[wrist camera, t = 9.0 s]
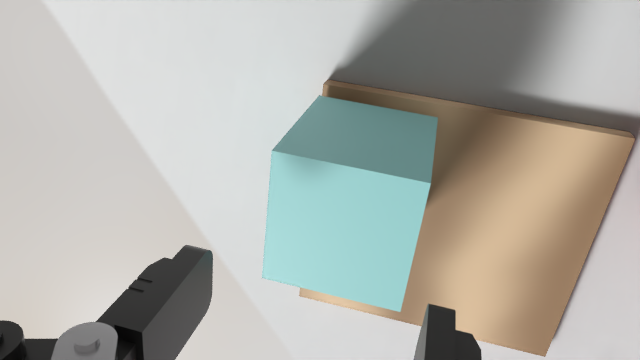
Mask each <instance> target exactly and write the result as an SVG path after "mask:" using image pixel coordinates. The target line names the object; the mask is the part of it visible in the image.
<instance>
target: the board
mask: <svg viewBox="0 0 640 360" xmlns="http://www.w3.org/2000/svg"><path fill="white" fill-rule="evenodd" d="M322 96H325V97H330V98H336V99H341V100H346V101H352V102H357V103H363V104H368V105H374V106H379V107H384V108H390V109H395V110H401V111H406V112H412V113H417V114H422V115H428V116H433V117H438V123H437V132H436V141H435V150H434V159H433V168H432V177H431V185H430V189H429V193H428V198H427V202H426V206H425V210H424V214H423V219H422V223H421V227H420V231H419V236H418V240H417V244H416V248H415V252H414V257H413V261H412V265H411V269H410V274H409V278H408V282H407V286H406V291H405V295H404V299H403V303H402V307H401V312H398V311H394V310H389V309H385V308H381V307H377V306H373V305H369V304H365V303H361V302H357V301H353V300H349V299H345V298H341V297H337V296H333V295H329V294H325V293H321V292H317V291H313V290H309V289H305V288H301V287H300V295H299V296H301V297H305V298H309V299H313V300H317V301H321V302H325V303H329V304H333V305H337V306H341V307H345V308H350V309H354V310H358V311H362V312H366V313H370V314H374V315H378V316H382V317H386V318H390V319H394V320H398V321H402V322H406V323H410V324H414V325H418V326H422V323H423V319H424V315H425V312H426V308H427V305H428V303H429V304H433V305H437V306H441V307H446V308H450V309H454V310H455V311H456V330H458V331H462V332H467V333H471V334H472V335H473V336H474V338H475V340H479V341H483V342H487V343H491V344H495V345H500V346H504V347H508V348H512V349H516V350H520V351H524V352H528V353H532V354H536V355H540V356H544V357H545V356H546V353H547V351H548V348H549V346H550V344H551V341H552V339H553V336H554V334H555V332H556V329H557V327H558V324H559V322H560V320H561V317H562V315H563V312H564V310H565V307H566V305H567V303H568V300H569V298H570V295H571V293H572V291H573V288H574V286H575V283H576V281H577V279H578V276H579V274H580V271H581V269H582V266H583V264H584V262H585V259H586V257H587V254H588V252H589V250H590V247H591V245H592V242H593V240H594V237H595V235H596V233H597V230H598V228H599V225H600V223H601V221H602V218H603V216H604V213H605V211H606V209H607V206H608V204H609V201H610V199H611V196H612V194H613V192H614V189H615V187H616V184H617V182H618V180H619V177H620V175H621V172H622V170H623V168H624V165H625V163H626V160H627V158H628V155H629V153H630V151H631V148H632V146H633V143H634V141H635V138H634V136H633V135H632V134H631V133H630V132H627V131H621V130H615V129H610V128H604V127H598V126H592V125H587V124H581V123H575V122H569V121H564V120H558V119H552V118H546V117H541V116H535V115H529V114H523V113H517V112H512V111H506V110H500V109H494V108H489V107H483V106H477V105H471V104H466V103H460V102H454V101H448V100H443V99H437V98H431V97H425V96H420V95H414V94H408V93H402V92H397V91H391V90H385V89H379V88H374V87H368V86H362V85H356V84H351V83H345V82H339V81H333V80H327V81H326V82H325V83H324V84H323V93H322Z"/></svg>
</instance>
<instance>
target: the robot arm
mask: <svg viewBox="0 0 640 360" xmlns="http://www.w3.org/2000/svg"><path fill="white" fill-rule="evenodd" d="M212 267H213V255H212V252H211V251H210V250H206V249H202V248H198V247H193V246H189V245H185V246H184V247H183V248H182V249H181V250H180V251H179V252H178V253H177V254H176V255H175V257H174V258H173V259H168V258H162V259H161V260H159V261H157V262H155V263H153V264H151V265H149V266H148V267H147V268H146V269H145V270H144V271H143V272H142V273H141V274H140V275H139V276H138V279H137V280H135V281H134V282H133V283H132V284H131V285H130V286H129V289H126V290H125V291H124V292H123V293H122V295H121V296H120V297H119V298H118V299H117V300H116V301H115V302H114V303H113V304H112V305H111V306H110V307H109V308H108V309H107V311H106V312H105V313H104V314H103V315H102V316H101V317H100V318H99V319H98V320H97V321H96V322H89V323H83V324H80V325H77V326H75V327H72V328H70V329H69V330H67V331H66V332H65V333H63V334H62V335H61V336H60V337H59V339H24V335H23V330H22V328H21V327H20V326H19V325H18V324H16V323H14V322H11V321H0V360H175V359H176V357H177V356H178V354H179V353H180V351H181V350H182V348H183V347H184V345H185V344H186V342H187V341H188V339H189V338H190V336H191V335H192V333H193V332H194V330H195V329H196V327H197V326H198V324H199V323H200V321H201V320H202V318H203V317H204V316H205V314H206V312H207V310H208V308H209V305H210V302H211V297H212V270H213V269H212ZM414 360H481V349H480V347H479V345H478V344H477V342H476V340H475V338H474V336H473V335H472V334H471V333H467V332H462V331H458V330H456V311H455V310H454V309H450V308H446V307H441V306H437V305H433V304H429V303H428V305H427V308H426V312H425V315H424V319H423V323H422V327H421V331H420V335H419V339H418V343H417V347H416V351H415V356H414Z"/></svg>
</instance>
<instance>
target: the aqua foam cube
mask: <svg viewBox="0 0 640 360" xmlns="http://www.w3.org/2000/svg"><path fill="white" fill-rule="evenodd" d="M437 123H438V117H433V116H428V115H422V114H417V113H412V112H406V111H401V110H395V109H390V108H384V107H379V106H374V105H368V104H363V103H357V102H352V101H346V100H341V99H336V98H330V97H325V96H319V97H318V98H317V99H316V100H315V101H314V102H313V104H312V105H311V106H310V107H309V108H308V109H307V110H306V112H305V113H304V114H303V115H302V116H301V117H300V119H299V120H298V121H297V122H296V123H295V124H294V126H293V127H292V128H291V129H290V130H289V131H288V133H287V134H286V135H285V136H284V137H283V138H282V140H281V141H280V142H279V143H278V144H277V145H276V146H275V148H274V149H273V150H272V155H271V168H270V181H269V194H268V207H267V220H266V233H265V246H264V259H263V272H262V278H264V279H268V280H272V281H276V282H280V283H285V284H289V285H293V286H297V287H301V288H305V289H309V290H313V291H317V292H321V293H325V294H329V295H333V296H337V297H341V298H345V299H349V300H353V301H357V302H361V303H365V304H369V305H373V306H377V307H381V308H385V309H389V310H394V311H398V312H401V307H402V303H403V299H404V295H405V291H406V286H407V282H408V278H409V274H410V269H411V265H412V261H413V257H414V252H415V248H416V244H417V240H418V236H419V231H420V227H421V223H422V219H423V214H424V210H425V206H426V202H427V198H428V193H429V189H430V185H431V177H432V168H433V159H434V150H435V141H436V132H437Z"/></svg>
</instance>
